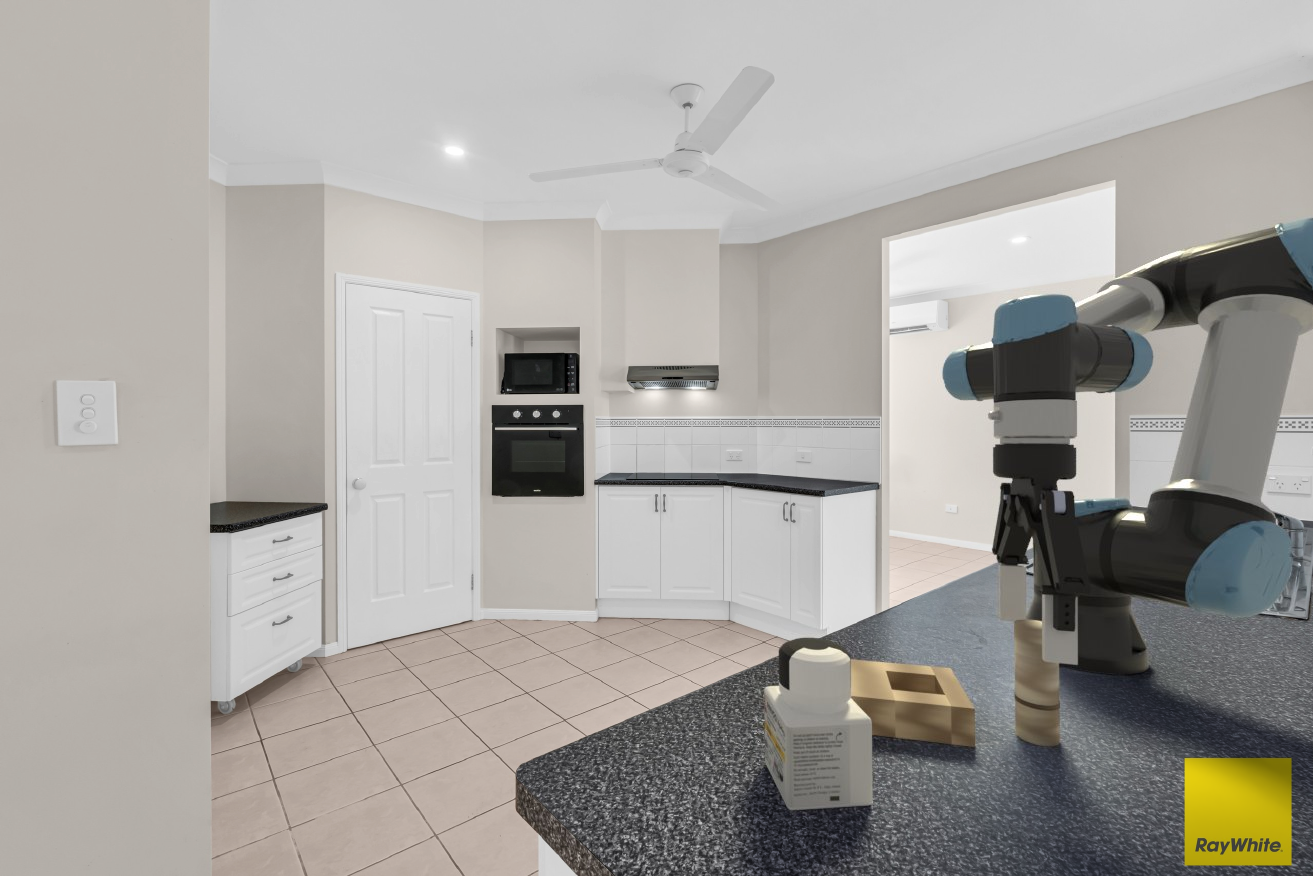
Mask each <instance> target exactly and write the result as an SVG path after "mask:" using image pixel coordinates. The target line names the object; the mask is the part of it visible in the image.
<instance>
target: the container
mask: <svg viewBox="0 0 1313 876" xmlns="http://www.w3.org/2000/svg"><path fill="white" fill-rule="evenodd" d="M851 659H852V657H851V653H849V652H848V650H847V649H846V648H845V647H843V646H842V645H840V644H838V643H837V642H834V641H831V640H829V639H824V638H821V637H820V638H819V637H797V638H794V639H791V640H788V641H786V642H784V643H782V645H781V646H780V647H779V648H778V685H774V686H773V685H772V686H771V685H769V686H765V687H764V688H763V689H764V691H763V694H764V695H763V696H764V697H763V699H764V703H763V704H764V761H765V762H764V763H765V765H766V767H767V769H768V770H769V773H770V776H771V777H772V779H773V781H774V783H775V785H776V788H777V790H778V791H779V794H780V796H781V797H782V800H783V801H784V804H785V805H786V808H787V809H788V810H789V811H800V810H801V811H802V810H803V811H804V810H818V809H819V810H820V809H832V808H833V809H834V808H835V809H836V808H848V807H852V808H853V807H867V806H870V805H872V804H873V802H874V801H873V735H872V721H871V719H870V718H869V717H868V716H867V714H866V713H865V712H864V711H863V710H862V709H861V708H860V707H859V706H858V705H857V704H856V703H855V702H854V701H853V700H852V699H851Z"/></svg>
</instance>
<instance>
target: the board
mask: <svg viewBox="0 0 1313 876" xmlns="http://www.w3.org/2000/svg"><path fill="white" fill-rule="evenodd" d="M951 668H952V667H951ZM951 668H950V667H941V666H940V667H939V666H931V665H920V664H910V663H909V664H908V663H898V662H896V663H895V662H884V661H883V662H882V661H874V660H873V661H872V660H863V659H861V660H860V659H852V658H851V699H852V700H853V701H854V702H855V703H856V704H857V705H858V706H859V707H860V708H861V709H862V710H863V711H864V712H865V713H866V714H867V716H868V717H869V718H870V719H871V721H872V736H879V737H887V738H889V737H890V738H897V739H904V740H912V741H913V740H915V741H919V742H920V741H921V742H929V743H930V742H931V743H938V744H945V745H946V744H947V745H954V746H955V745H956V746H963V747H970V748H971V747H972V748H975V747H976V708H975V707H974V705H973V703H972V702H971V700H970V699H969V696H968V694H967V693H966V691H965V690H964V689H963V687H962V685H961V683H960V682H959V680H958V678H957V677H956V675H955V674H954V671H953V670H952V669H951Z"/></svg>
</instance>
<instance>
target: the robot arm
mask: <svg viewBox="0 0 1313 876" xmlns="http://www.w3.org/2000/svg"><path fill="white" fill-rule="evenodd" d="M993 317H994V319H993V320H994V321H993V332H992V333H993V334H992V337H991V340H990V341H989V342H987V343H982V344H980V345H979V344H978V345H967V347H965V348H960V349H957V350H954V351H952V352H951V353H949V354H948V356H947V357H946V359H945V361H944V363H943V366H942V373H941V374H942V379H943V384H944V387H945V389H946V391H947V392H948V394H950V395H951V396H952V397H953V398H955V399H957V400H960V401H977V402H983V401H986V400H993V410H992V411H989V412H988V414H987V416H988V419H989V420H991V421H993V437H994V438H995V439H999V443H998V444H994V446H993V447H992V466H993V467H992V472H993V474H994V476H996V477H997V478H1001V479H1012V480H1011V482H1001V484H1000V486H999V488H1000V496H999V505H998V512H997V518H996V524H995V529H994V530H995V531H994V536H993V542H992V547H991V552H992V554H993V555H994V556H996V558H995V559H996V561H997V563H998V620H999V621H1006V622H1014V621H1016V620H1023V619H1027V620H1037V621H1042V659H1043V660H1044V661H1045V662H1053V663H1059V666H1061V667H1065V668H1069V669H1073V670H1077V671H1083V672H1090V673H1097V674H1098V673H1099V674H1105V675H1106V674H1107V675H1108V674H1109V675H1133V674H1141V673H1143V672H1145V671H1147V670H1148V669H1149V666H1150V665H1149V650H1148V647H1147V644H1146V642H1145V639H1144V637H1143V635H1142V632H1141V630H1140V626H1139V624H1138V622H1137V620H1136V617H1135V615H1134V612H1133V609H1132V597H1137V598H1142V599H1146V600H1150V601H1154V602H1155V601H1156V602H1160V603H1164V604H1168V605H1173V606H1179V607H1182V608H1189V609H1192V610H1194V611H1196V612H1199V613H1203V614H1217V615H1221V616H1222V615H1223V616H1229V617H1234V618H1248V617H1249V618H1250V617H1254V616H1257V615H1260V614H1261V613H1263V612H1265V611H1266V610H1268V609H1270V608H1271V607H1272V606H1273V605H1274V604H1275V603H1276V602H1277V601H1278V600H1279V598H1280V597H1281V595H1282V594H1283V593H1284V590H1285V588H1286V586H1287V583H1288V582H1289V579H1290V576H1291V574H1292V573H1291V572H1292V570H1293V569H1292V568H1293V565H1294V564H1293V563H1294V562H1293V561H1294V559H1293V557H1291V554H1292V552H1293V543H1292V540H1291V537H1290V535H1289V533H1288V532H1287V531H1286V530H1285V529H1284V528H1283V527H1282V526H1280V525H1278V524H1276V523H1275V519H1276V514H1275V513H1274V511H1272V510H1271V508H1269V507H1268V506H1267V505H1266V504H1265V503H1264V502H1262V496H1263V491H1264V488H1265V483H1266V479H1267V473H1268V470H1269V465H1270V460H1271V457H1272V454H1273V453H1272V452H1273V448H1274V444H1275V439H1276V435H1277V431H1278V426H1279V423H1280V422H1279V421H1280V418H1281V414H1282V409H1283V406H1284V400H1285V397H1286V392H1287V387H1288V383H1289V380H1290V374H1291V372H1292V371H1291V370H1292V366H1293V362H1294V357H1295V353H1296V349H1297V345H1298V341H1299V336H1301V335H1304V334H1306V333H1309V332H1310V331H1312V330H1313V217H1310V218H1304V219H1300V220H1295V221H1290V222H1286V223H1283V222H1279V223H1276V224H1275V226H1273V227H1269V228H1264V229H1261V230H1257V231H1252V232H1247V233H1245V234H1244V233H1243V234H1241V235H1240V234H1239V235H1236V236H1233V237H1228V238H1224V239H1219V240H1215V241H1212V242H1211V241H1210V242H1208V243H1204V244H1199V245H1197V246H1191V247H1188V248H1184V249H1180V250H1177V251H1174V252H1172V253H1169V254H1166V255H1164V256H1161V257H1160V258H1156V259H1155V260H1153V261H1151V262H1148V263H1146V264H1144V265H1142V266H1139V267H1137V268H1135V269H1133V270H1131V271H1129V272H1127V273H1124V274H1123V275H1121V276H1119V277H1116V278H1113V279H1112V280H1109V281H1108V282H1106V283H1104V285H1103V286H1101V287H1100V289H1098V291H1097V292H1096V293H1095V294H1094V295H1092V296H1090V297H1087V298H1085V299H1083V300H1081V301H1078V302H1075V301H1074V299H1073V297H1071V296H1069V295H1066V294H1061V293H1060V294H1059V293H1049V294H1048V293H1047V294H1046V293H1045V294H1034V295H1033V294H1032V295H1028V296H1027V295H1026V296H1022V297H1018V298H1015V299H1014V298H1013V299H1010V300H1008V301H1005V302H1003V303H1001V304H1000V305H999V306H998V307H997V308H996V309H995V312H994V315H993ZM1196 325H1198V326H1200V328H1201V329H1202V330H1204V331H1205V332H1206V333H1207V337H1206V342H1205V344H1204V348H1203V353H1202V356H1201V361H1200V364H1199V368H1198V372H1197V376H1196V379H1195V384H1194V386H1193V391H1192V394H1191V399H1190V402H1189V406H1188V409H1187V413H1186V418H1185V421H1184V425H1183V429H1182V432H1181V436H1180V440H1179V444H1178V447H1177V452H1176V456H1175V460H1174V463H1173V467H1172V471H1171V474H1170V475H1171V476H1170V478H1169V482H1168V484H1167V485H1164V486H1162V487H1160V488H1158V489H1156V490H1153V491H1152V492H1151V494H1150V496H1149V501H1148V504H1147V507H1146V509H1145V510H1138V509H1137V510H1136V509H1132V508H1133V505H1132V503H1131V501H1130V499H1128V498H1126V497H1124V498H1122V497H1121V498H1120V497H1114V498H1113V497H1112V498H1111V497H1109V498H1108V497H1107V498H1089V499H1088V498H1086V499H1085V498H1084V499H1075V494H1074V492H1073V491H1072V490H1059V489H1058V481H1060V480H1064V481H1067V480H1073V479H1075V477H1076V475H1077V447H1075V445H1074V444H1071V439H1075V438H1076V437H1078V407H1077V406H1078V401H1077V397H1076V396H1077V395H1076V394H1077V393H1085V392H1086V393H1087V392H1090V393H1091V392H1092V393H1093V392H1095V393H1097V394H1106V393H1107V394H1108V393H1109V394H1111V393H1121V392H1125V391H1127V390H1131V389H1132V388H1134V387H1136V386H1138V385H1139V384H1140V383H1142V382H1143V380H1144V379H1145V378H1146V377H1147V376H1148V374H1149V373H1150V371H1151V368H1152V367H1153V363H1154V362H1153V361H1154V352H1153V348H1152V345H1151V344H1150V341H1148V339H1147V338H1146V337H1145V336H1143V335H1146V334H1147V333H1148V334H1149V332H1154V331H1160V330H1166V329H1173V328H1180V327H1189V326H1196ZM1031 539H1032V563H1033V565H1032V567H1033V573H1032V574H1033V598H1032V601H1031V603H1030V605H1029V607H1028V611H1027V566H1026V565H1030V561H1029V559H1028V556H1027V555H1026V553H1027V551H1028V547H1029V546H1030V542H1031Z"/></svg>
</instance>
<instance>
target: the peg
mask: <svg viewBox="0 0 1313 876" xmlns="http://www.w3.org/2000/svg"><path fill="white" fill-rule="evenodd" d="M1013 640H1014V641H1013V647H1014V653H1013V655H1014V656H1013V657H1014V659H1013V660H1014V693H1013V695H1014V715H1015V716H1014V720H1015V721H1014V725H1015V727H1014V730H1015V734H1016V736H1018V737H1019V738H1020V739H1022V740H1023V741H1025V742H1027V743H1029V744H1032V745H1036V746H1039V747H1050V748H1051V747H1056V746H1059V745H1060V743H1061V728H1060V727H1061V720H1060V718H1061V716H1060V715H1061V714H1060V708H1061V701H1060V665H1059V663H1053V662H1045V661H1044V660H1043V659H1042V621H1037V620H1027V619H1023V620H1016V621H1013Z"/></svg>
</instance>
